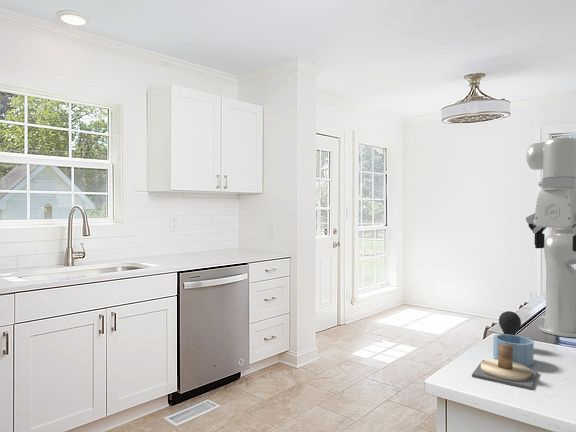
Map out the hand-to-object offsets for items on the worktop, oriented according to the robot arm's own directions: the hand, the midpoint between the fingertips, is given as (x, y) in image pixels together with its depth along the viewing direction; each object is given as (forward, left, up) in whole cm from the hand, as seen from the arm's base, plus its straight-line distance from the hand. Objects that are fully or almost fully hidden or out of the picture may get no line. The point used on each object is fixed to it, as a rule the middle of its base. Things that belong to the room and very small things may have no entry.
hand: (557, 249), depth 114 cm
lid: (+13, -21, -28) cm, 37 cm away
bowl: (+3, -14, -28) cm, 32 cm away
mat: (+13, -21, -28) cm, 38 cm away
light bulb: (-8, -8, -28) cm, 31 cm away
